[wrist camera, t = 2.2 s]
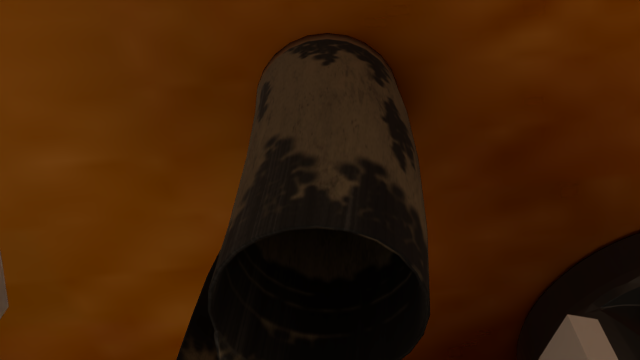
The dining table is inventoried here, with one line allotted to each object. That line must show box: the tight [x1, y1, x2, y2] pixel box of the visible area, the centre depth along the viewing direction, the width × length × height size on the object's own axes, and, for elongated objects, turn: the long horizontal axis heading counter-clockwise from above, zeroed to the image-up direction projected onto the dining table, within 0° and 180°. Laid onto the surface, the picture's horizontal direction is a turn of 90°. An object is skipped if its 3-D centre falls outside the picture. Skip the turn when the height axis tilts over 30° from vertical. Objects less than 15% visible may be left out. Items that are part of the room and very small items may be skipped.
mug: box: [177, 33, 430, 360], centre depth 17 cm, size 8×6×12 cm
